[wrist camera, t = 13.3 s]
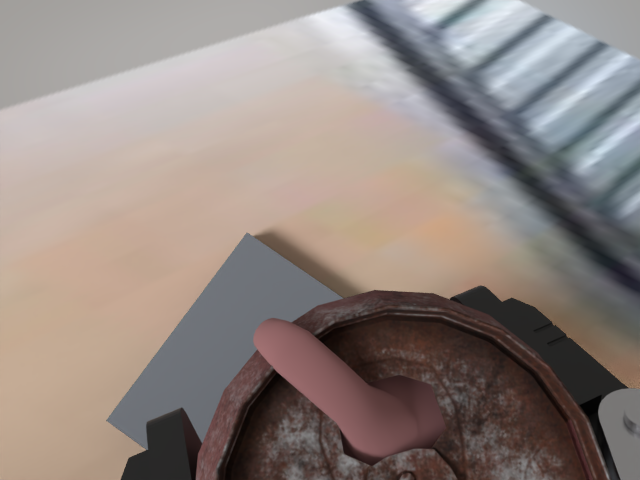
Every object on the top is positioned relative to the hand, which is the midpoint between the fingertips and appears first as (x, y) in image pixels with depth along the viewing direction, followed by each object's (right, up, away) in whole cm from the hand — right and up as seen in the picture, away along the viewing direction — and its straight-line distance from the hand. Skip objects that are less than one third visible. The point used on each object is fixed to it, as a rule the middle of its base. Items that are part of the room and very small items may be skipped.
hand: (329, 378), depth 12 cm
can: (0, -4, +9) cm, 10 cm away
